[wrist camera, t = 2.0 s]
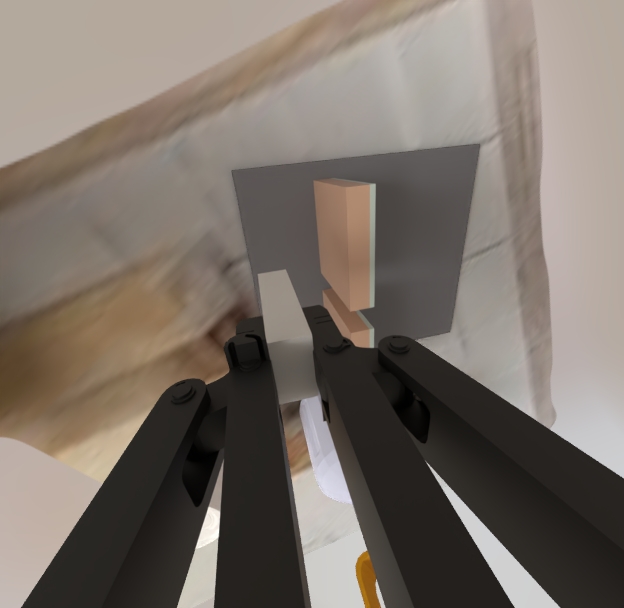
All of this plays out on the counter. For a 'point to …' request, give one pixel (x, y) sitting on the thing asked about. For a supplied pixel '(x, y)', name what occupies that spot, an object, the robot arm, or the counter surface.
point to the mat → (388, 231)
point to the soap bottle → (333, 483)
